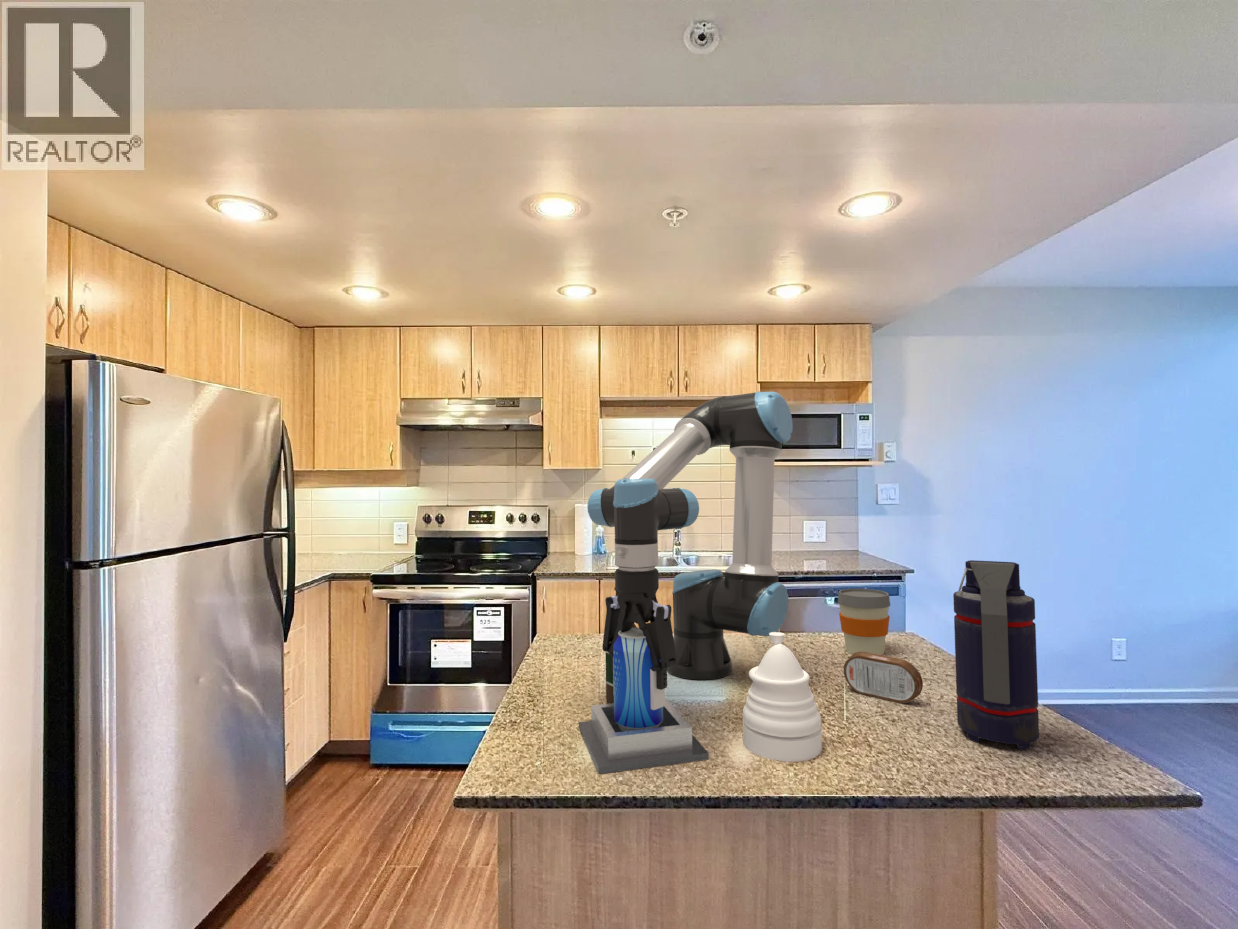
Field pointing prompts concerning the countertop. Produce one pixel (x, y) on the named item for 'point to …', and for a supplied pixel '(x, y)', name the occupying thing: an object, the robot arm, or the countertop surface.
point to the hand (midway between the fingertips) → (638, 700)
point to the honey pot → (781, 708)
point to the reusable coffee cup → (864, 619)
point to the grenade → (996, 655)
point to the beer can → (633, 683)
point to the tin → (883, 677)
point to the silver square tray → (639, 741)
